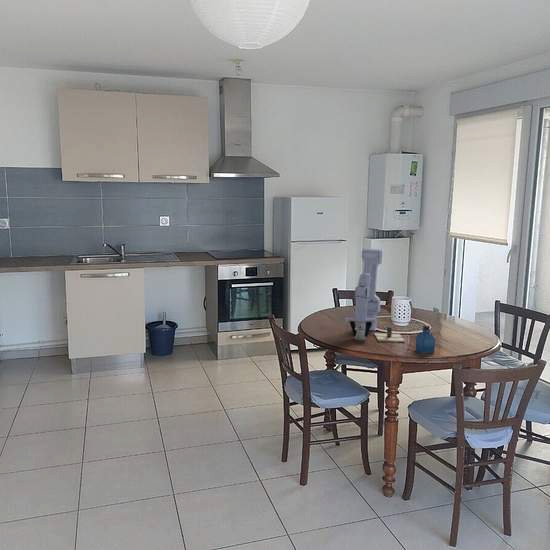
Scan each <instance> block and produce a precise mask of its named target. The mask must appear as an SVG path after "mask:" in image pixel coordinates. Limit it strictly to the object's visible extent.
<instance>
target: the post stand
mask: <svg viewBox="0 0 550 550" xmlns="http://www.w3.org/2000/svg"><path fill="white" fill-rule="evenodd" d="M386 328H387V329H386V332H384V333H383V332H374V333H373V335H375V336H374V337H375V339H376V341H377V342H378V343H397V342H406V341H405V339H404V338H403V336H402V335H401V333H396V332H395V333H393V327H392V326H387V327H386Z"/></svg>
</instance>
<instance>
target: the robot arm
mask: <svg viewBox="0 0 550 550" xmlns="http://www.w3.org/2000/svg"><path fill="white" fill-rule="evenodd" d="M361 259H362V262H363V270H362V273H361V274H360V275H359V279H358V283H357V286H356V287H355V290H354V296H355V297H354V300H355V315H354V316H353V317H346V318H345V321H346V323H349V324H350V327H351V330H352V336H353V338H354V337H355V328H356V323H362V324H360V328H364V329H366V338H368V334H369V331H376V330H378V331H379V329H378V328H377V321H378V320H377V318H378V314H379V312H380V311H381V298H380V297H379V296H378V295H376V294H377V293H376V289H377V275H378V267H379V265H381V264H382V263H383V262H382V261H383V250H382V249H380V248H365V247H364V248H362V251H361Z"/></svg>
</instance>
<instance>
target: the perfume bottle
mask: <svg viewBox="0 0 550 550" xmlns="http://www.w3.org/2000/svg"><path fill="white" fill-rule="evenodd" d="M430 327H431V326H429V325H422V328H421V329H422V330H421V331H422V332H421V331H420V332H419V333H418V334H417V335H416V337H415V349H416V350H415V351H417V350H418V351H417V352H419V353H421V354H433V353H432V352H434V353H435V347H436V346H435V345H436V339H435V337H434V335H433V334H432V333H430V332H431V328H430Z"/></svg>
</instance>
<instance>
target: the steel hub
mask: <svg viewBox="0 0 550 550" xmlns="http://www.w3.org/2000/svg"><path fill="white" fill-rule="evenodd" d="M353 338H354V340H355V339H356V341H365V340H366V339H367V337H366V329H364V328H362V327H355V337H353Z"/></svg>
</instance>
